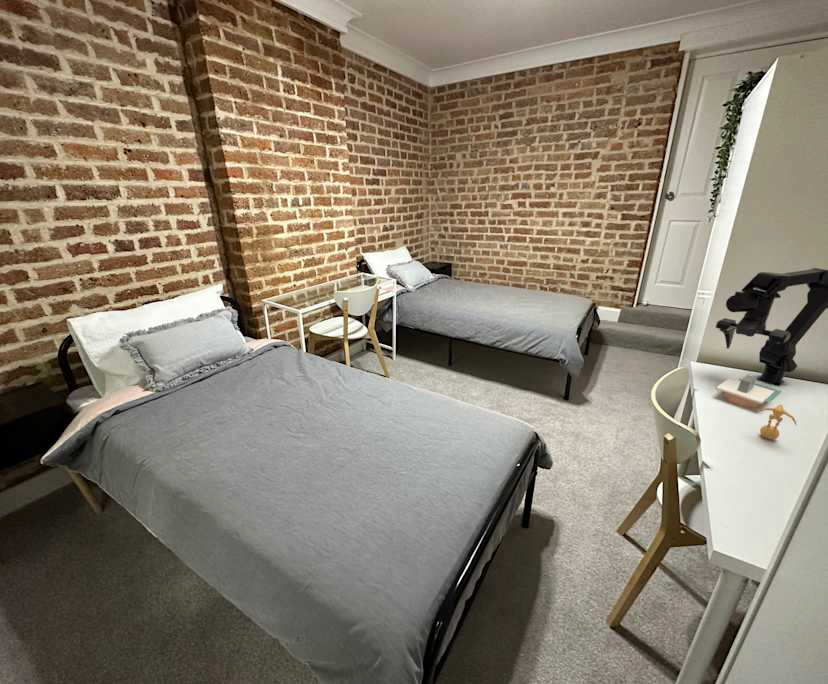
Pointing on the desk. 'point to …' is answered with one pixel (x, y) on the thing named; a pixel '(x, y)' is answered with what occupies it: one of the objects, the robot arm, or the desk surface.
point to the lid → (746, 389)
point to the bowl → (740, 400)
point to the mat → (776, 392)
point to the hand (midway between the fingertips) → (743, 352)
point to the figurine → (772, 431)
